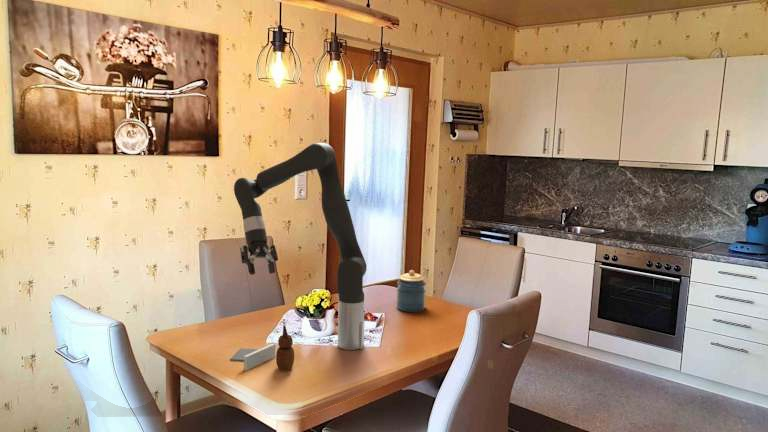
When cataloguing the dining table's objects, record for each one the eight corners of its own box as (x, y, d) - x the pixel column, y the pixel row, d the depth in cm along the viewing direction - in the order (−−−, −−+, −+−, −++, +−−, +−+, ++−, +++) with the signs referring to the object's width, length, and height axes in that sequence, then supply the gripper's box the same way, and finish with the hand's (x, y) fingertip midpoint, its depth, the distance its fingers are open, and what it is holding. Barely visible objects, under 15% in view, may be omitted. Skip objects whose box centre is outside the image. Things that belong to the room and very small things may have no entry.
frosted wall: (272, 355, 194) (272, 343, 194) (275, 356, 194) (275, 344, 193) (243, 369, 182) (243, 356, 182) (246, 370, 182) (246, 357, 181)
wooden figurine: (277, 364, 187) (277, 321, 185) (294, 364, 187) (295, 321, 185) (275, 373, 180) (275, 328, 178) (293, 373, 181) (293, 328, 179)
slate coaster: (267, 351, 198) (267, 349, 198) (259, 362, 188) (259, 360, 188) (240, 349, 199) (240, 348, 199) (230, 360, 189) (230, 359, 189)
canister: (406, 302, 264) (407, 265, 261) (430, 307, 256) (431, 269, 254) (390, 308, 253) (391, 270, 251) (414, 314, 246) (416, 275, 243)
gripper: (244, 227, 197) (252, 272, 194) (276, 227, 208) (284, 270, 205) (232, 233, 202) (240, 277, 198) (264, 234, 213) (272, 275, 209)
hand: (262, 273), depth 201 cm, fingers open, 8 cm apart
